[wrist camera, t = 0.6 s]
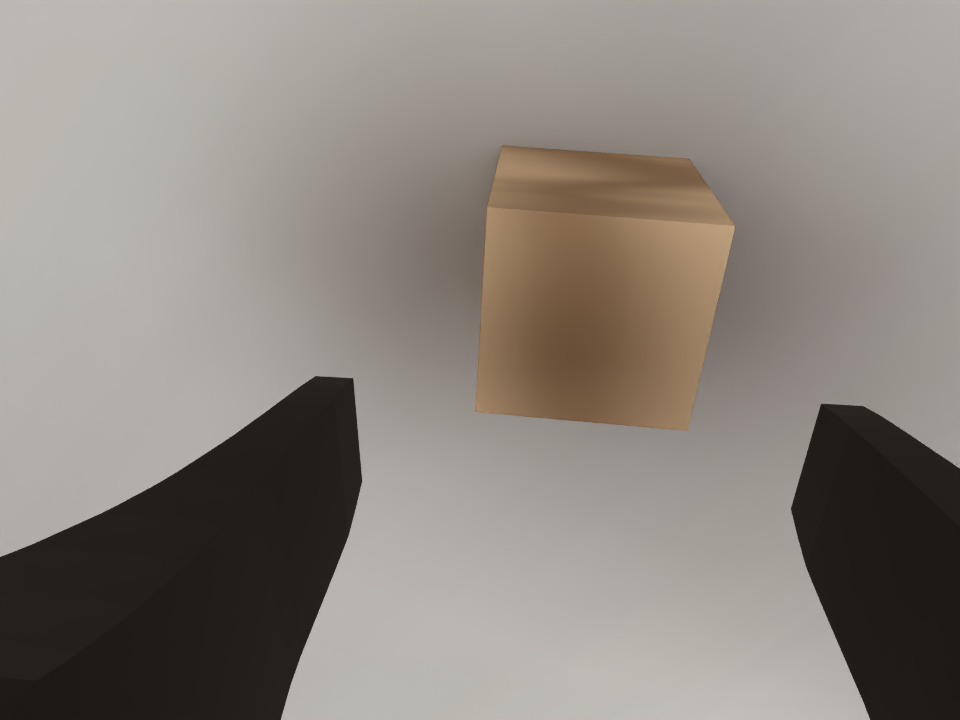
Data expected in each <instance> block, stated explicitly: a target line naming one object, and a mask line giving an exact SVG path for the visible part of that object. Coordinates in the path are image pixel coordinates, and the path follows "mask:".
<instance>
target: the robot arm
mask: <svg viewBox="0 0 960 720" xmlns="http://www.w3.org/2000/svg"><path fill="white" fill-rule="evenodd" d="M361 483H362V474H361V463H360V451H359V440H358V429H357V417H356V406H355V394H354V383H353V378H337V377H319V376H315V377H314V378H312V379H311V380H309V381H308V382H306V383H305V384H303V385H302V386H300V387H299V388H298V389H296V390H295V391H294V392H292V393H291V394H289V395H288V396H287V397H285V398H284V399H283V400H281V401H280V402H279V403H277V404H276V405H275V406H273V407H272V408H271V409H269V410H268V411H267V412H265V413H264V414H262V415H261V416H260V417H258V418H257V419H255V420H254V421H253V422H251V423H250V424H249V425H247V426H246V427H244V428H243V429H242V430H240V431H239V432H237V433H236V434H235V435H233V436H232V437H230V438H229V439H227V440H226V441H224V442H223V443H221V444H220V445H218V446H217V447H215V448H214V449H212V450H211V451H209V452H207V453H206V454H204V455H203V456H201V457H200V458H198V459H197V460H195V461H194V462H192V463H191V464H189V465H188V466H186V467H184V468H183V469H181V470H180V471H178V472H177V473H175V474H173V475H172V476H170V477H168V478H167V479H165V480H163V481H161V482H160V483H158V484H156V485H154V486H153V487H151V488H149V489H147V490H145V491H143V492H142V493H140V494H138V495H136V496H134V497H132V498H130V499H128V500H127V501H125V502H123V503H121V504H119V505H117V506H115V507H113V508H111V509H109V510H107V511H105V512H103V513H101V514H99V515H97V516H95V517H92V518H90V519H88V520H86V521H83V522H81V523H79V524H77V525H75V526H72V527H70V528H68V529H66V530H64V531H61V532H59V533H57V534H55V535H52V536H50V537H48V538H46V539H44V540H41V541H39V542H37V543H35V544H32V545H30V546H27V547H25V548H22V549H20V550H17V551H15V552H12V553H10V554H7V555H4V556H2V557H0V720H281V716H282V713H283V709H284V706H285V702H286V699H287V695H288V692H289V688H290V685H291V682H292V679H293V676H294V674H295V671H296V668H297V665H298V662H299V659H300V656H301V654H302V651H303V649H304V646H305V644H306V641H307V639H308V636H309V634H310V631H311V629H312V626H313V624H314V621H315V619H316V617H317V614H318V612H319V609H320V607H321V604H322V602H323V599H324V597H325V594H326V592H327V589H328V587H329V584H330V582H331V579H332V577H333V574H334V572H335V569H336V566H337V564H338V561H339V559H340V556H341V554H342V551H343V549H344V546H345V543H346V541H347V538H348V535H349V532H350V528H351V524H352V520H353V517H354V513H355V509H356V505H357V500H358V496H359V492H360V488H361ZM791 511H792V515H793V519H794V523H795V527H796V531H797V535H798V539H799V543H800V547H801V550H802V554H803V557H804V561H805V564H806V568H807V570H808V573H809V575H810V578H811V580H812V583H813V585H814V587H815V590H816V592H817V594H818V597H819V599H820V602H821V604H822V606H823V609H824V611H825V614H826V616H827V618H828V621H829V623H830V625H831V628H832V630H833V632H834V635H835V637H836V639H837V642H838V644H839V646H840V648H841V651H842V653H843V655H844V658H845V660H846V662H847V665H848V667H849V669H850V672H851V674H852V676H853V679H854V681H855V683H856V686H857V688H858V690H859V693H860V695H861V697H862V700H863V702H864V705H865V707H866V710H867V712H868V715H869V718H870V720H960V469H959V468H958V467H956V466H955V465H953V464H952V463H951V462H949V461H948V460H946V459H945V458H943V457H942V456H940V455H939V454H937V453H936V452H934V451H933V450H931V449H930V448H928V447H927V446H925V445H924V444H922V443H921V442H919V441H918V440H917V439H915V438H914V437H912V436H911V435H909V434H908V433H906V432H905V431H903V430H902V429H900V428H899V427H897V426H895V425H894V424H892V423H891V422H889V421H888V420H886V419H885V418H883V417H881V416H880V415H878V414H876V413H875V412H873V411H871V410H869V409H867V408H866V407H864V406H851V405H833V404H821V406H820V410H819V413H818V417H817V420H816V424H815V427H814V431H813V434H812V437H811V441H810V444H809V448H808V451H807V455H806V458H805V462H804V465H803V469H802V472H801V476H800V479H799V483H798V486H797V490H796V493H795V497H794V500H793V504H792V507H791Z"/></svg>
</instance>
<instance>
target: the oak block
mask: <svg viewBox="0 0 960 720" xmlns="http://www.w3.org/2000/svg"><path fill="white" fill-rule="evenodd" d="M734 230H735V225H734V223H733V222H732V220H731V219H730V217H729V216H728V214H727V213H726V212H725V210H724V209H723V207H722V206H721V204H720V203H719V201H718V200H717V199H716V197H715V196H714V194H713V193H712V191H711V190H710V188H709V187H708V186H707V184H706V183H705V181H704V180H703V178H702V177H701V175H700V174H699V173H698V171H697V170H696V168H695V167H694V165H693V164H692V162H691V161H690V160H689V159H682V158H668V157H654V156H640V155H626V154H612V153H598V152H584V151H570V150H556V149H542V148H528V147H514V146H502V149H501V153H500V157H499V161H498V165H497V169H496V173H495V177H494V181H493V185H492V189H491V193H490V197H489V202H488V206H487V218H486V235H485V253H484V270H483V288H482V305H481V322H480V340H479V357H478V375H477V392H476V410H475V412H482V413H493V414H504V415H516V416H527V417H538V418H549V419H561V420H572V421H583V422H594V423H606V424H617V425H628V426H639V427H651V428H662V429H673V430H684V431H688V426H689V422H690V418H691V414H692V409H693V405H694V401H695V397H696V392H697V388H698V384H699V380H700V375H701V371H702V367H703V362H704V358H705V354H706V350H707V345H708V341H709V337H710V333H711V328H712V324H713V320H714V315H715V311H716V307H717V303H718V298H719V294H720V290H721V286H722V281H723V277H724V273H725V269H726V264H727V260H728V256H729V251H730V247H731V243H732V239H733V234H734Z"/></svg>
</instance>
